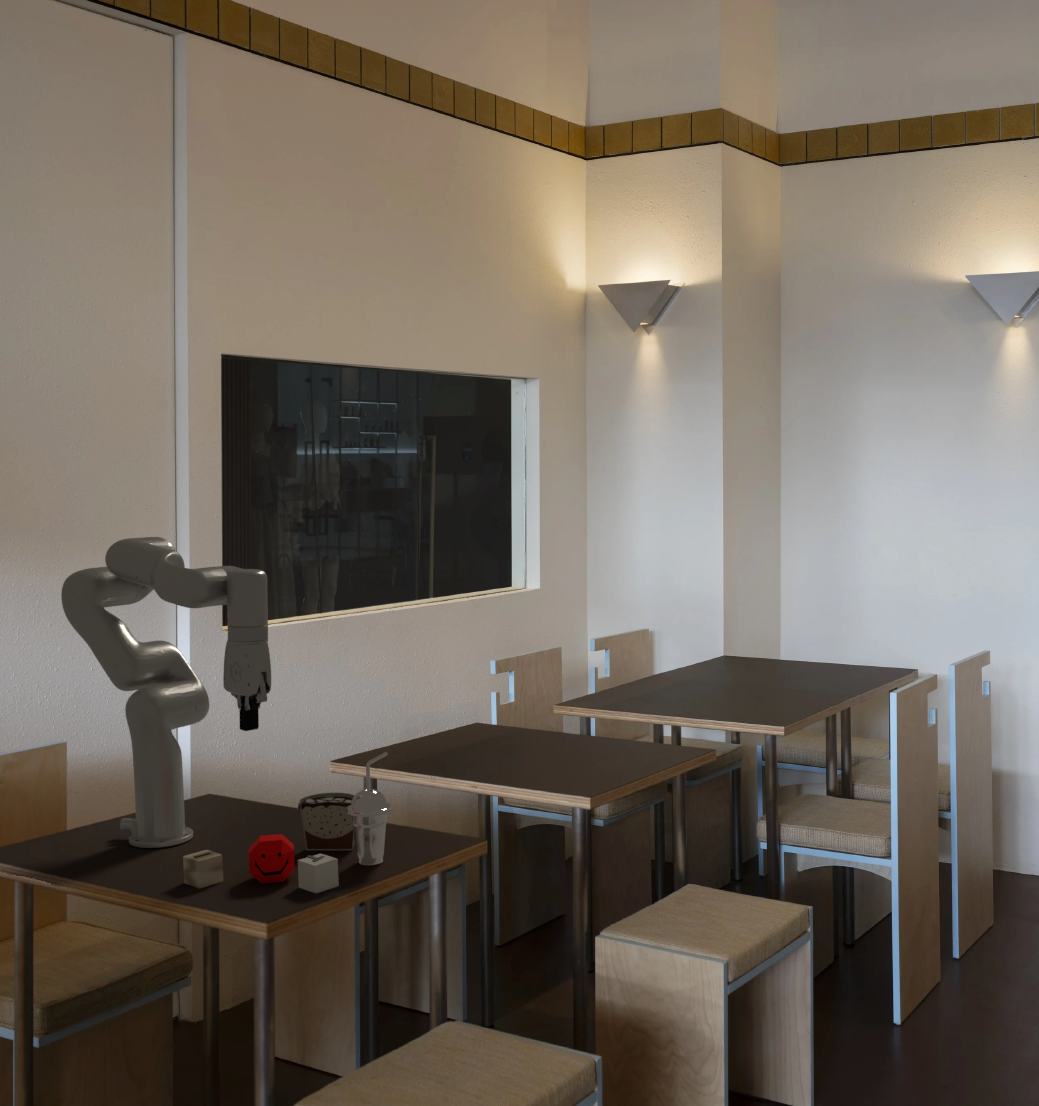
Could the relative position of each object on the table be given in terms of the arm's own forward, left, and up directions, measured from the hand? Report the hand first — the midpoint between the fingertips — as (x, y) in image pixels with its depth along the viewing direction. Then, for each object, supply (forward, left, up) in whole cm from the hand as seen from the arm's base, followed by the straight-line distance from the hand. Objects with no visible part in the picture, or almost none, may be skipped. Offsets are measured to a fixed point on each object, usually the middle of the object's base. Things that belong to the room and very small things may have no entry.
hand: (249, 729), depth 233 cm
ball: (+9, -12, -25) cm, 29 cm away
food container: (+13, +9, -25) cm, 30 cm away
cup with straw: (+24, 0, -25) cm, 35 cm away
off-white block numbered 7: (+19, -15, -25) cm, 35 cm away
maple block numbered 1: (-3, -15, -25) cm, 29 cm away
